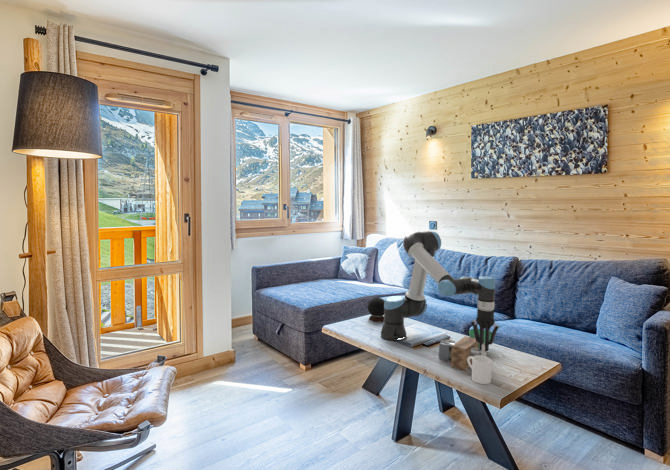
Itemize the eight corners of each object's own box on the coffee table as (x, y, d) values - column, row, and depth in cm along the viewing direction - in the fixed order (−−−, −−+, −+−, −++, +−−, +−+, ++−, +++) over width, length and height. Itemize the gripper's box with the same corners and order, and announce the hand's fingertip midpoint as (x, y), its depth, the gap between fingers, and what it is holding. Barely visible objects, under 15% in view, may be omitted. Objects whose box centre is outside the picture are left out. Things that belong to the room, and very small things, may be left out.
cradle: (438, 359, 199) (439, 343, 198) (445, 354, 205) (445, 339, 205) (448, 361, 196) (448, 345, 195) (454, 356, 202) (454, 341, 201)
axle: (439, 348, 201) (439, 341, 200) (442, 346, 204) (442, 339, 203) (478, 357, 188) (479, 350, 188) (481, 355, 191) (481, 348, 191)
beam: (451, 366, 190) (451, 345, 189) (464, 355, 204) (465, 336, 203) (465, 370, 185) (466, 349, 185) (478, 359, 200) (478, 339, 199)
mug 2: (472, 371, 185) (473, 351, 184) (494, 381, 174) (495, 360, 174) (460, 375, 180) (461, 354, 180) (482, 385, 170) (483, 363, 169)
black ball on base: (377, 315, 276) (377, 294, 275) (390, 319, 266) (391, 298, 264) (363, 318, 267) (363, 297, 266) (377, 323, 257) (377, 301, 256)
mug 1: (478, 354, 206) (479, 335, 205) (464, 348, 214) (464, 330, 214) (497, 349, 212) (498, 331, 212) (483, 344, 221) (484, 326, 220)
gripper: (469, 308, 188) (467, 356, 190) (497, 313, 180) (495, 363, 182) (474, 305, 194) (472, 351, 196) (502, 309, 186) (500, 358, 188)
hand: (483, 357), depth 189 cm, fingers closed
